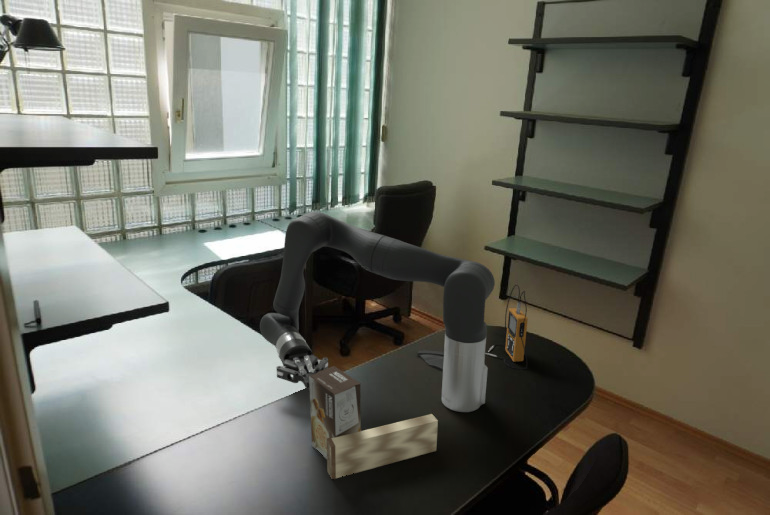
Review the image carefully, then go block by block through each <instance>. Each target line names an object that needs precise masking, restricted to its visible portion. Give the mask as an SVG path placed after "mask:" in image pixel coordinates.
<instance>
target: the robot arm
mask: <svg viewBox="0 0 770 515" xmlns="http://www.w3.org/2000/svg"><path fill="white" fill-rule="evenodd" d="M322 247H328V248H333V249H336V250H338V251H342V252H344V253H346V254H348V255H350V256H351V257H352V258H353V260H355V261H356V262H357V263H358V264H359V265H360V267H361V268H363V269H365V270H366V271H368V272H371V273H373V274H375V275H378V276H382V277H384V278H387V279H391V280H396V281H405V282H421V283H423V282H424V283H430V284H433V285H438V286H440V287H443V294H442V295H443V298H442V299H443V300H442V301H443V302H442V322H443V325H444V328H445V330H444V347H443V348H444V349H443V352H444V362H443V371H442V381H441V382H442V385H441V386H442V387H441V403H442V404H443V406H444V407H446V408H447V409H449V410H450V411H454V412H458V413H459V412H460V413H470V412H474V411H476V410H479V408H480V407H481V406H483V405H484V404H485V403H486V391H487V381H488V380H487V378H488V369H489V368H488V366H487V364H485V362H486V361H485V360H486V358H485V357H486V354H485V353H486V344H487V336H488V334H487V333H488V325H487V323H486V321H485V312H486V311H485V309H486V300H487V299H488V298H489V297H490V295H491V294H492V292H493V291H494V288H495V286H496V285H495V283H496V282H495V281H496V280H495V276H494V274H493V273H492V271H491V270H490V269H489V268H488V267H487V266H485V265H484V264H482V263H480V262H477V261H473V260H468V259H464V258H463V259H462V258H457V257H453V256H448V255H445V254H440V253H437V252H434V251H431V250H429V249H426V248H423V247H420V246H418V245H417V246H416V245H414V244H411V243H407V242H406V241H405V242H404V241H402V240H400V239H396V238H394V237H390V236H387V235H384V234H380V233H376V232H374V231H370V230H367V229H364V228H360V227H357V226H354V225H351V224H348V223H346V222H344V221H341V220H339V219H337V218H335V217H333V216H331V215H328V214H326V213H323V212H321V211H311V212H307V213H305V214H303V215H301V216H299V217H297V218H294V219H292V220H291V222H289V224H288V225H287V228H286V231H285V236H284V246H283V258H282V265H281V273H280V278H279V283H278V286H277V289H276V292H275V294H274V295H275V296H274V299H273V304H272V307H273V309H274V311H275V312H268V313H266V314H264V315H263V316H262V317H261V319H260V322H259V330H260V334H261V335H262V337H263V338H264V340H266V341H267V342H268V343H270V345H272V346H275V349H276V352H277V355H278V358H279V360H280V362H281V363H282V365H278V366H276V378H277V379H281V380H284V381H287V382H291V383H293V384H298V383H299V382H301V383H302V384H303V386H304V388H306V389H308V390H309V391H310V382H309V376H310V375H313V374H316V373H317V372H319V371H322V370H324V369H327V368H329V359H328V357H323V358H322V359H319V358H318V357H317V356H315V355H314V354H313V351H312V349H311V348H310V346H309V345H308V343H307V342H306V339H304V337H303V336H302V335H301V333H300V332H299V329H300V328H299V327H300V326H299V325H300V322H299V312H300V307H301V303H302V301H303V297H304V293H305V289H306V281H305V276H304V270H305V267H306V264H307V261H308V260H309V258H310V256H311V254H312V253H313V252H317V251H318V250H319V249H321V248H322Z"/></svg>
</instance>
